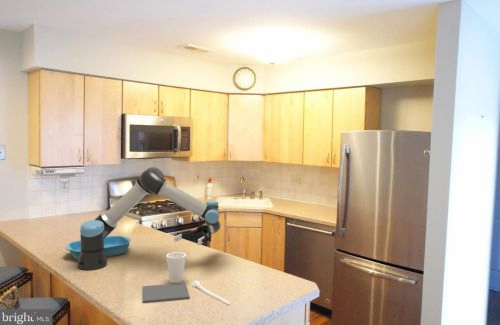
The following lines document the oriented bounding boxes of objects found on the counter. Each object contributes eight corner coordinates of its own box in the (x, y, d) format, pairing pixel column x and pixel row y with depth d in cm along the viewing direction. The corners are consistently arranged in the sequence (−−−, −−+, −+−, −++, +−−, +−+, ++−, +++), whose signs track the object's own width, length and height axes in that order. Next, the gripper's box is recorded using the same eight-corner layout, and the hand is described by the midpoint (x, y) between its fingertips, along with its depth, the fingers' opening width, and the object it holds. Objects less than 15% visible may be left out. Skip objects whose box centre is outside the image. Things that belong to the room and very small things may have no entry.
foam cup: (166, 285, 185) (167, 258, 184) (165, 278, 194) (165, 252, 193) (186, 283, 188) (186, 257, 187) (184, 276, 197) (185, 251, 196)
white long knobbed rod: (235, 304, 168) (235, 297, 168) (228, 306, 165) (228, 300, 165) (197, 284, 188) (197, 278, 188) (190, 286, 185) (190, 280, 185)
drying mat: (142, 303, 165) (142, 300, 165) (142, 288, 181) (142, 286, 181) (189, 298, 171) (189, 296, 171) (185, 284, 186) (185, 282, 186)
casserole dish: (70, 265, 209) (70, 252, 209) (61, 254, 227) (61, 242, 226) (136, 253, 231) (136, 242, 231) (124, 244, 249) (124, 233, 248)
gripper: (224, 240, 215) (208, 250, 195) (185, 235, 223) (165, 245, 203) (224, 226, 214) (208, 236, 194) (185, 222, 222) (165, 231, 202)
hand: (186, 241), depth 199 cm, fingers open, 13 cm apart
